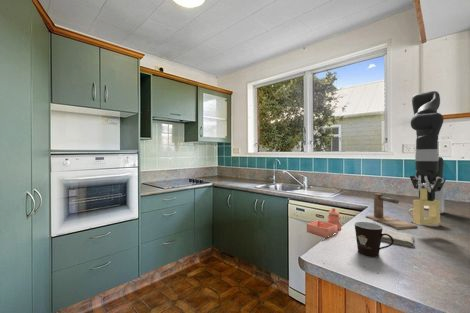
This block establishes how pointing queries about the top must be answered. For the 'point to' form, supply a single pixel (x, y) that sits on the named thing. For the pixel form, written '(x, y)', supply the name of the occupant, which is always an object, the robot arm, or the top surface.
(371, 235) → the coffee mug
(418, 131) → the robot arm
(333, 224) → the pottery
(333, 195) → the top surface
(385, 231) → the washcloth
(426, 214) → the teacup with lid
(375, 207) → the walnut stand
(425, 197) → the brass link
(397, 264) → the top surface
